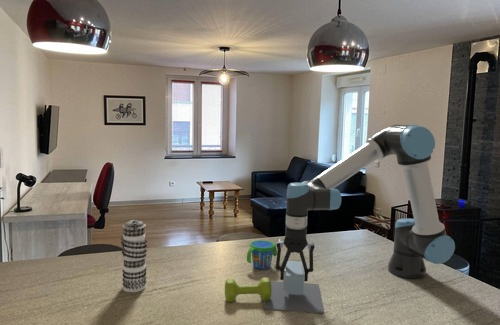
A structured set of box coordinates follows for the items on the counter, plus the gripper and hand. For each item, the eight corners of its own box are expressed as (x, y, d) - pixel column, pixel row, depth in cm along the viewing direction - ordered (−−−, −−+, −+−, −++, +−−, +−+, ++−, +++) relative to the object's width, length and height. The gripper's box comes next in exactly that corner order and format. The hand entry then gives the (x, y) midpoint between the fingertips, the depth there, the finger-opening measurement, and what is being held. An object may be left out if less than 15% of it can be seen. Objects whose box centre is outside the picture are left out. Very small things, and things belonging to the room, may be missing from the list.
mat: (318, 285, 149) (318, 284, 149) (324, 313, 127) (324, 312, 127) (267, 281, 150) (267, 280, 150) (264, 309, 129) (264, 308, 129)
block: (286, 275, 130) (285, 260, 143) (285, 292, 130) (285, 276, 144) (303, 277, 129) (302, 261, 143) (303, 293, 130) (301, 277, 144)
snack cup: (269, 259, 174) (269, 237, 173) (283, 267, 165) (284, 244, 164) (240, 266, 166) (240, 243, 164) (253, 274, 157) (254, 250, 156)
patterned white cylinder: (120, 283, 145) (120, 219, 142) (146, 280, 149) (145, 217, 146) (122, 294, 137) (121, 226, 134) (148, 290, 140) (148, 224, 137)
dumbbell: (269, 293, 139) (270, 274, 139) (272, 303, 132) (272, 283, 131) (224, 294, 138) (224, 275, 138) (224, 305, 131) (224, 285, 130)
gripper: (268, 228, 133) (266, 291, 135) (324, 231, 131) (320, 295, 134) (269, 222, 140) (267, 282, 143) (322, 225, 138) (319, 286, 141)
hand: (293, 288), depth 138 cm, fingers closed on block, 6 cm apart
